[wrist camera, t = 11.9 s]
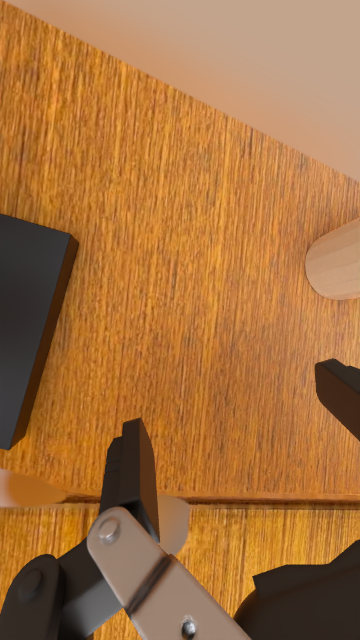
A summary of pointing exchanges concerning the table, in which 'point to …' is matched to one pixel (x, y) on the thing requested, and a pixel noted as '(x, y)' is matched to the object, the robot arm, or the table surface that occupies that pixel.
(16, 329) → the hob
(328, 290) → the cup
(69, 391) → the table surface
